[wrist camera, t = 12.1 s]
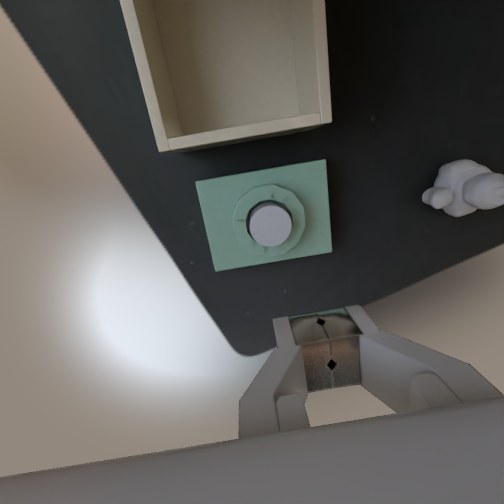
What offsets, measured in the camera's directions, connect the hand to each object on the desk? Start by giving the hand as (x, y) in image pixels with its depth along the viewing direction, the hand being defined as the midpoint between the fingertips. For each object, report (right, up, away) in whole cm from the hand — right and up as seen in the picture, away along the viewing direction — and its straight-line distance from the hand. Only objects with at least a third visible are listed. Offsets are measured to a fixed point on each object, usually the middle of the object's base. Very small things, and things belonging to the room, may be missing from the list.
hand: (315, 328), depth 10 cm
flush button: (-1, +5, +16) cm, 16 cm away
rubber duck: (+18, +10, +20) cm, 29 cm away
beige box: (-4, +20, +15) cm, 26 cm away
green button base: (-1, +7, +20) cm, 21 cm away
